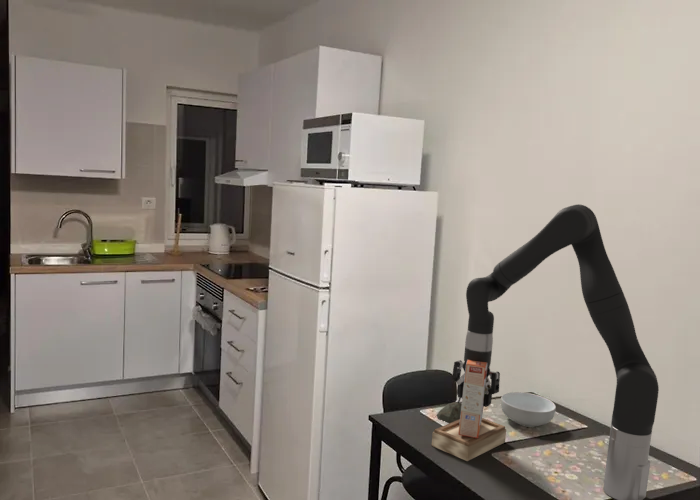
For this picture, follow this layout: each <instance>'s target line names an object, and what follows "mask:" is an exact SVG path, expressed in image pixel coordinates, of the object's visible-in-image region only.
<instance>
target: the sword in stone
mask: <svg viewBox="0 0 700 500" xmlns="http://www.w3.org/2000/svg"><path fill="white" fill-rule="evenodd" d="M457 397H458V396H457ZM461 400H462V398H459V397H458V401H453V402H451V403H450V402H449V403H447V404H446V405H445V406H444V407H442V409H440V410H439V411H438V413H437V414H436V418H437V420H440V421H441V420H442V422H444V421H445V422H444V423H448V424H449V423H452V422H454V421H457V420H459V419H460V415H461V406H462V402H461Z"/></svg>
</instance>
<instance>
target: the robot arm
mask: <svg viewBox="0 0 700 500" xmlns="http://www.w3.org/2000/svg"><path fill="white" fill-rule="evenodd" d="M569 246H571V247H572V249H573V251H574V253H575V255H576V259H577V261H578V267H579V275H580V277H579V278H580V287H581V291H582V297H583V301H584V303H585V305H586V309H587V311H588V313H589V315H590V317H591V320H592V322H593V324H594V326H595V328H596V330H597V332H598V333H599V335H600V336H601V338H602V340H603V341H604V343H605V345H606V346H607V348H608V351H609V354H610V357H611V360H612V364H613V367H614V371H615V377H616V385H615V394H614V400H613V401H614V402H613V410H612V415H611V421H610V423H611V424H610V430H609V437H608V445H607V446H608V447H607V455H606V462H605V467H604V468H605V469H604V470H605V471H604V478H603V485H602V490H603V492H604V493H605V494H606V495H608V496H609V497H610V498H613V499H614V500H645V498H646V496H647V490H648V483H649V475H650V468H651V460H649V457H650V456H649V454H650V446H651V441H652V433H653V427H654V423H655V418H656V412H657V405H658V398H659V387H660V386H659V382H658V377H657V375H656V373H655V371H654V369H653V368H652V365H651V364H650V362H649V360H648V359H647V357H646V355H645V353H644V351H643V349H642V347H641V345H640V342H639V339H638V337H637V333H636V328H635V324H634V320H633V317H632V314H631V310H630V307H629V304H628V301H627V299H626V296H625V294H624V291H623V287H622V286H621V284H620V281H619V280H618V277H617V275H616V272H615V269H614V268H613V264H612V263H611V260H610V258H609V256H608V253H607V251H606V248H605V245H604V241H603V237H602V233H601V230H600V226H599V222H598V219H597V217H596V214H595V213H594V212H593V210H592V209H591V208H590V207H588V206H587V205H584V204H573V205H570V206H567V207H564V208H562V209H559V210H558V212H557V213H556V214H555V215H554V216H553V218H551V219H550V220H549V222H547V224H545V226H544V227H543V228H542V229H541V230H540V231H539V232H538V233H537V234H536V235H534V237H532V238H531V239H530V240H529V241H527V242H525V243H524V244H523V245H521V246H520V247H519V248H517V249H516V250H514V251H513V252H512V253H511V254H509V255H507V256H506V257H505V258H504V259H502V260H501V261H499V262H498V263H497V264H496V265H495V266H494V268H493V270H492V272H491V273H489V274H488V275H487V276H485V277H476V278H473V279H471V280H470V281H469V283H468V284H467V287H466V293H465V296H466V297H465V298H466V304H467V305H466V306H467V312H468V320H467V321H468V322H467V332H466V334H465V335H466V336H465V345H464V354H463V361H464V362H463V361H462V360H457V361H454V363H453V369H452V377H451V380H452V382H455V383H456V385H457V389H456V395H457V397H459V398H461V399H462V396H463V387H464V378H465V369H466V363H467V360H472V361H478V362H487V376H486V377H487V380H486V384H485V394H484V403H483V406H484V407H485V408H486V407H489V406H490V405H491V404H492V398H493V395H495V394H498V393H499V392H500V382H501V381H500V379H501V378H500V377H501V376H500V375H501V374H500V372H499V371H491V369H490V367H491V362H492V353H493V352H492V351H493V344H494V340H493V339H494V337H493V333H494V323H495V316H494V313H493V312H491V311H490V310H489V302H493V301H495V300H497V299H499V298H501V297H502V296H503V295H504V294H505V293H506V292H507V291H508V290H509V289H510V288H511V287H512V286H513V285H515V284H517V283H518V282H519V281H521V280H522V279H524V277H526V276H528V275H529V274H530V273H532V271H534V270H535V269H536V268H537V267H538V266H539V265H540V264H541V263H543V262H544V261H545V260H546V259H548V258H549V257H550V256H552V255H553V254H555V253H556V252H558V251H560V250H562V249H564V248H567V247H569ZM462 370H463V372H464V373H463V374H462V375H461V373H462ZM459 398H458V399H459ZM484 407H483V408H484Z"/></svg>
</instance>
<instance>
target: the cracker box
mask: <svg viewBox="0 0 700 500" xmlns="http://www.w3.org/2000/svg"><path fill="white" fill-rule="evenodd" d="M464 373H465V378H464V387H463V396H462V398H461V403H462V406H461V415H460V424H459V435H462V436H467V437H472V438H478V436H479V431H480V426H481V421H482V418H483V415H484V406H483V403H484V394H485V384H486V380H487V377H486V376H487V362H478V361H472V360H467V363H466V369H465V372H464Z"/></svg>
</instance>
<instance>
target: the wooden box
mask: <svg viewBox="0 0 700 500" xmlns="http://www.w3.org/2000/svg"><path fill="white" fill-rule="evenodd" d="M459 424H460V419H459V420H457V421H454V422H452V423H448V424H445V425H443V426H440V427H437V428H436V429H434V431H432V433H431V434H432V435H431V438H432V439H431V447H433V448H436V449H438V450H441V451H443V452H445V453H448V454H449V455H451V456H455V457H456V458H459V459H461V460H463V461H466V462H469V461H471V460H473V459H475V458H476V457H478V456H480V455H483V454H484V453H486V452H489V451H490V450H493V449H494V448H496V447H498V446H501V445H502V444H504V443H506V436H507V429H506V425H502V424H499V423H497V422H494V421H491V420H490V419H489V420H488V419H486V418H484V417H482V421H481V426H480V431H479V436H478V438H472V437H467V436H462V435H459Z"/></svg>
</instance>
